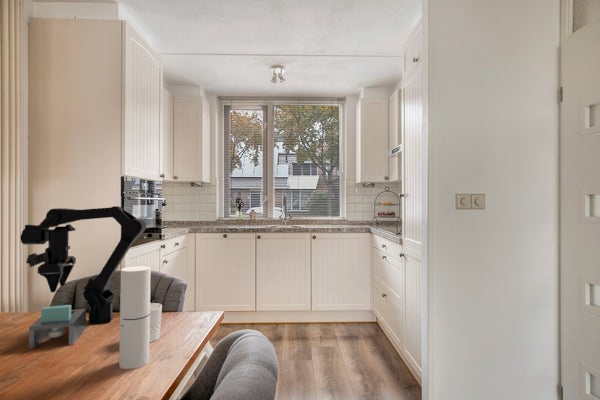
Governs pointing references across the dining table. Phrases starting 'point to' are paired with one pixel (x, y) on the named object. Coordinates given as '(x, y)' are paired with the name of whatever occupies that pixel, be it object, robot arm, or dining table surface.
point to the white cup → (155, 321)
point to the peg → (55, 318)
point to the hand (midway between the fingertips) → (57, 288)
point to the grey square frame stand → (74, 323)
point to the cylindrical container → (134, 317)
